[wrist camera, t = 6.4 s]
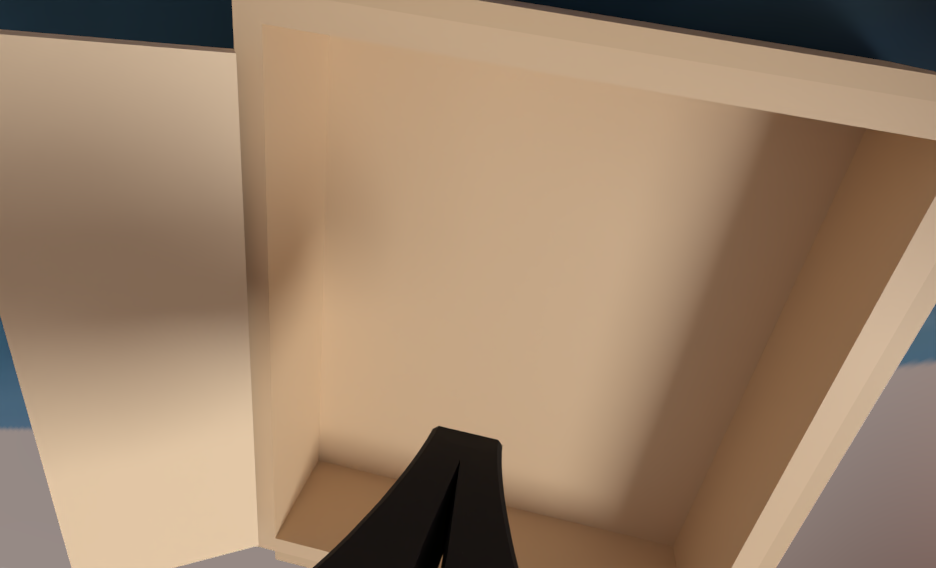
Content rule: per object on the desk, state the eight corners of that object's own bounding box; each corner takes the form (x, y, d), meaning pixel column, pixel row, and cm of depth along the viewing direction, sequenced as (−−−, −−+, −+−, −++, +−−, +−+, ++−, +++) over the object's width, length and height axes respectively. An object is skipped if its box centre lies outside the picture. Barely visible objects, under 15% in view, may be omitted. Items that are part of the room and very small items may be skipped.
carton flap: (-82, 27, 9) (-71, 23, 9) (78, 592, 15) (80, 576, 16) (236, 53, 11) (233, 48, 11) (258, 545, 17) (256, 532, 18)
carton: (930, 67, 13) (1061, 95, 9) (690, 557, 21) (712, 672, 17) (317, -32, 14) (229, -41, 11) (309, 464, 22) (258, 554, 18)
